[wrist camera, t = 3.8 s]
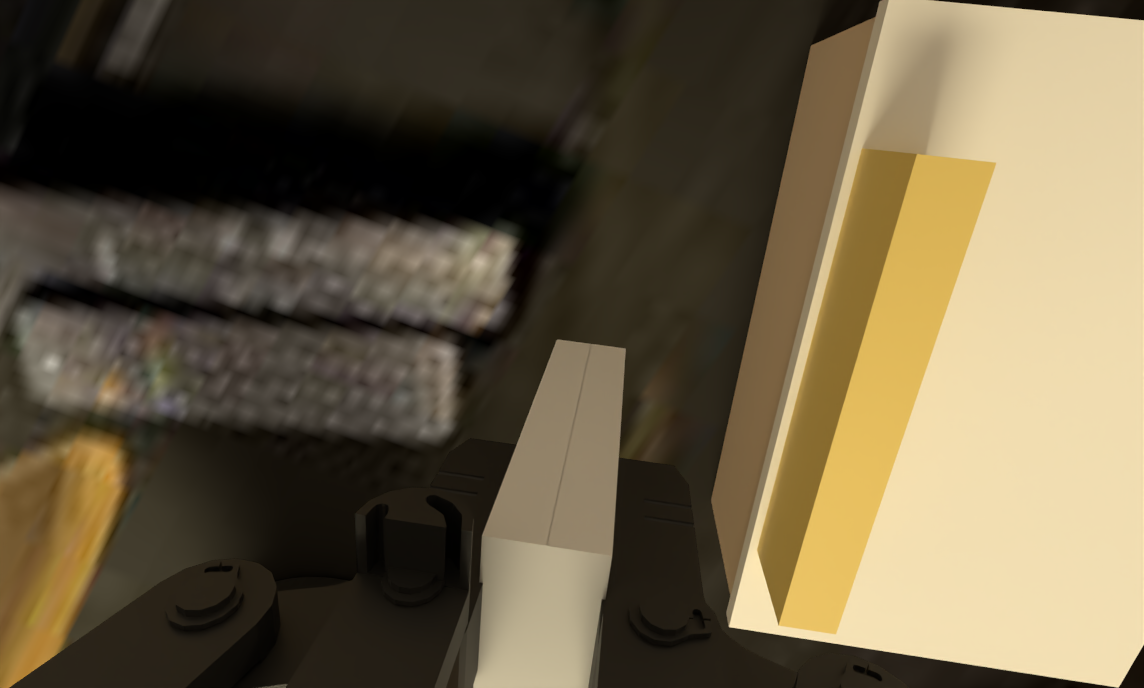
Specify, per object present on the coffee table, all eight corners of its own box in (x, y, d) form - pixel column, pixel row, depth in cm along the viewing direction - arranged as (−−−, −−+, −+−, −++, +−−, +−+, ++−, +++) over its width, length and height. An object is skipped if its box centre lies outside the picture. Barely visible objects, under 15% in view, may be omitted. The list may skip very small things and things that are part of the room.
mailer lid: (726, 612, 20) (744, 710, 17) (879, 2, 14) (957, -38, 10) (1104, 671, 20) (1202, 784, 16) (1453, 56, 13) (1736, 32, 10)
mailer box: (711, 500, 26) (731, 602, 21) (810, 45, 20) (880, 14, 14) (993, 540, 25) (1093, 658, 20) (1190, 83, 19) (1421, 66, 13)
